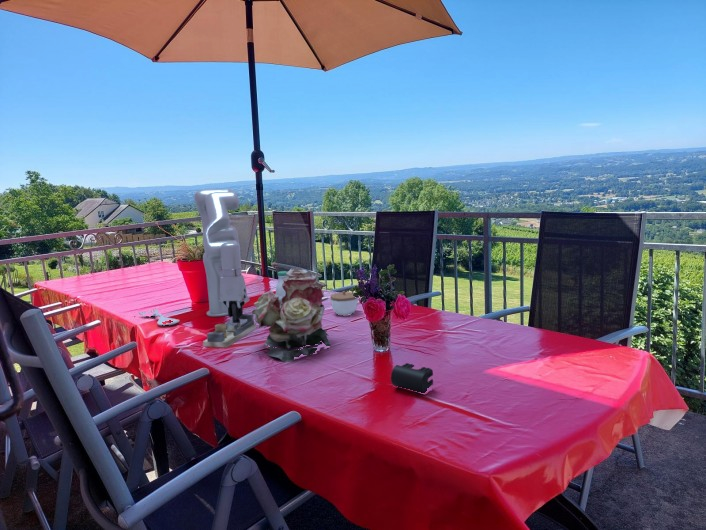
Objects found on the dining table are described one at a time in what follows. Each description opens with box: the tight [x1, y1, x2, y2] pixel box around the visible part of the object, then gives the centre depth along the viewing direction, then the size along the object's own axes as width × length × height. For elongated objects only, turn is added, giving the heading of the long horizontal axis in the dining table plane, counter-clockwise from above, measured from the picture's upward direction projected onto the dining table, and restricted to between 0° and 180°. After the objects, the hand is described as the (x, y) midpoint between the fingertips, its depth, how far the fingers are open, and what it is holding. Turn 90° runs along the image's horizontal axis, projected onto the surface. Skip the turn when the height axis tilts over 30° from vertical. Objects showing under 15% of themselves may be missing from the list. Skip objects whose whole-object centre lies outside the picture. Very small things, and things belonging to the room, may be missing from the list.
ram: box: [224, 301, 248, 331], centre depth 187 cm, size 7×8×12 cm
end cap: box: [390, 362, 434, 393], centre depth 128 cm, size 10×7×7 cm
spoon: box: [138, 307, 180, 327], centre depth 214 cm, size 9×32×4 cm, turn 43°
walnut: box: [214, 323, 227, 338], centre depth 177 cm, size 4×4×5 cm
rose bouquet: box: [251, 267, 331, 363], centre depth 164 cm, size 26×29×30 cm
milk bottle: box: [275, 270, 288, 297], centre depth 217 cm, size 8×8×20 cm
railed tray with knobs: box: [202, 313, 257, 348], centre depth 184 cm, size 10×25×6 cm, turn 166°
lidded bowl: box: [330, 290, 359, 315], centre depth 210 cm, size 13×13×11 cm
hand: (235, 316), depth 188 cm, fingers closed on ram, 3 cm apart
